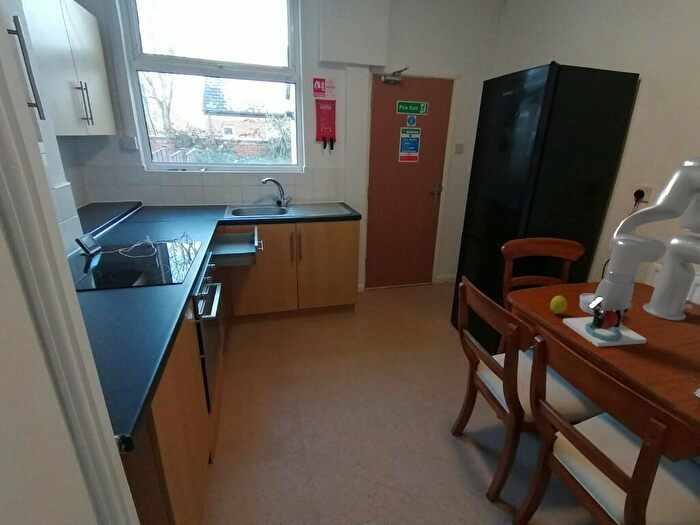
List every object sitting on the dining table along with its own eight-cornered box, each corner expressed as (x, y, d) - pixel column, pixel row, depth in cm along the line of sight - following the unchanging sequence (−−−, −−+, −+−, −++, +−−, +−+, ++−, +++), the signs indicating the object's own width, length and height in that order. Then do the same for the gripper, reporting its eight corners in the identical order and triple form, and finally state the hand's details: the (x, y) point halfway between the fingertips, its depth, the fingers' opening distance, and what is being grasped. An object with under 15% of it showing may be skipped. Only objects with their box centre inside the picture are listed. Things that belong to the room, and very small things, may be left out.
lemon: (566, 318, 130) (571, 299, 127) (551, 316, 131) (555, 298, 128) (561, 311, 135) (566, 293, 132) (546, 310, 136) (550, 291, 133)
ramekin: (588, 302, 143) (591, 290, 141) (617, 314, 133) (620, 301, 132) (570, 307, 138) (573, 295, 137) (599, 320, 129) (603, 307, 127)
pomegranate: (590, 324, 119) (595, 304, 116) (605, 323, 119) (611, 303, 117) (603, 333, 113) (609, 312, 111) (619, 332, 114) (625, 311, 111)
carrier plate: (605, 319, 129) (609, 308, 128) (645, 343, 114) (649, 331, 113) (562, 322, 127) (565, 311, 125) (597, 346, 112) (600, 334, 111)
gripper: (632, 271, 114) (618, 319, 121) (586, 273, 112) (573, 322, 118) (654, 280, 107) (637, 330, 114) (605, 283, 105) (590, 333, 111)
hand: (605, 325), depth 116 cm, fingers closed on pomegranate, 5 cm apart
